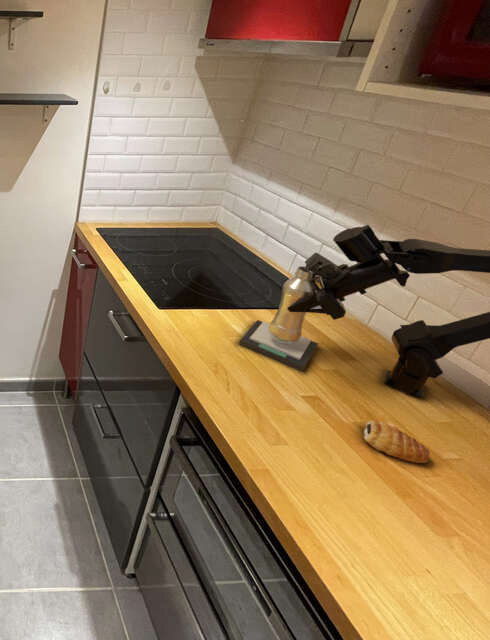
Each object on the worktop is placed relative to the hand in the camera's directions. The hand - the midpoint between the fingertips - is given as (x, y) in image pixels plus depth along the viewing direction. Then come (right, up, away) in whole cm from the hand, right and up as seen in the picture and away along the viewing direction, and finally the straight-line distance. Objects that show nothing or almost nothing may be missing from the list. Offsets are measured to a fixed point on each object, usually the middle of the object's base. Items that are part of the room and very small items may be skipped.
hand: (287, 303), depth 110 cm
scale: (+2, -12, +6) cm, 13 cm away
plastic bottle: (+1, -10, +4) cm, 10 cm away
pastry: (+3, -25, -22) cm, 34 cm away
